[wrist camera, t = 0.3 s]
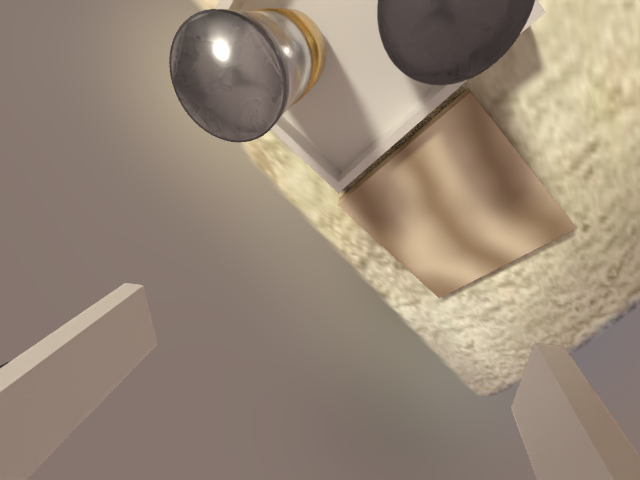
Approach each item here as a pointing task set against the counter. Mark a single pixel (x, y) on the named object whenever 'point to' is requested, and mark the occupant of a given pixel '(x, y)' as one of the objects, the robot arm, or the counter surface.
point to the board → (456, 200)
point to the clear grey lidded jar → (449, 35)
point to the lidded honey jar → (244, 68)
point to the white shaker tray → (352, 91)
